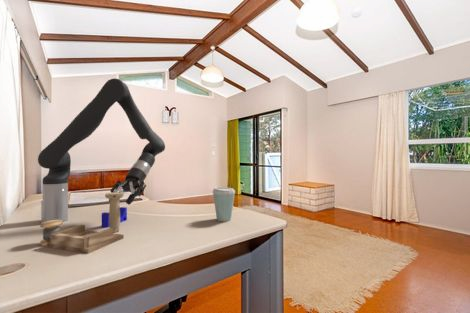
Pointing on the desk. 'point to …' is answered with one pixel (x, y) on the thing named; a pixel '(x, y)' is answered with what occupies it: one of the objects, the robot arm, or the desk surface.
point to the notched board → (90, 249)
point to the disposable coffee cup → (223, 202)
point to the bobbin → (49, 230)
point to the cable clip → (106, 217)
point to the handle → (114, 210)
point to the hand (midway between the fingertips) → (119, 202)
